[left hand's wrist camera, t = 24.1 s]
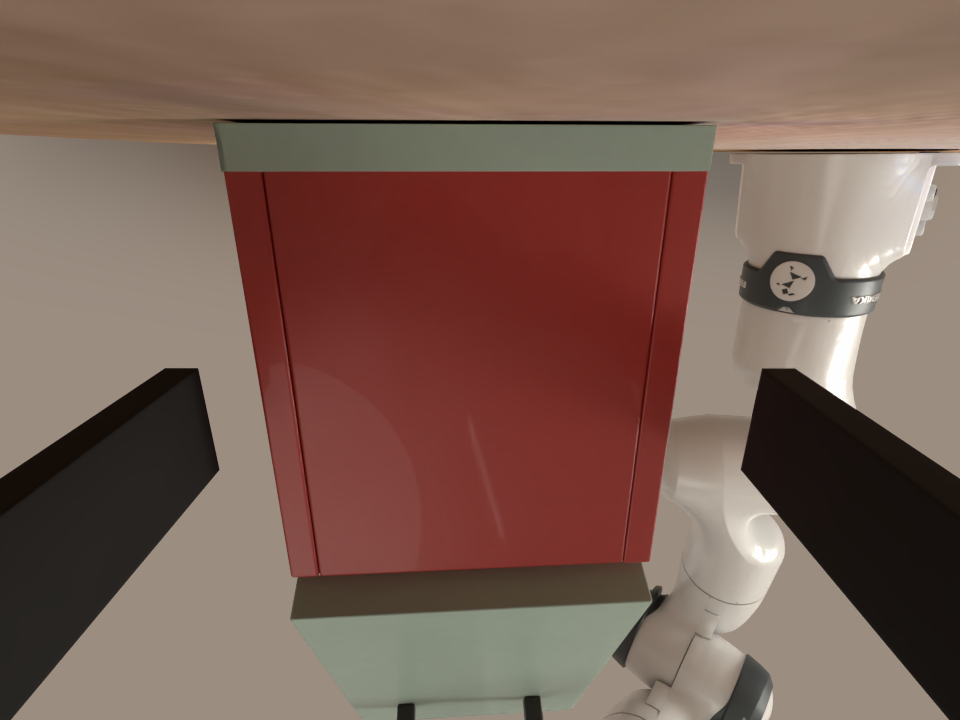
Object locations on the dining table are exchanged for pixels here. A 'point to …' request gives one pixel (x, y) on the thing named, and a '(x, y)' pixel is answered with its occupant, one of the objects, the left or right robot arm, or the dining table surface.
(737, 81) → the dining table surface
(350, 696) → the lid
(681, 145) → the chest
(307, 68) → the dining table surface
